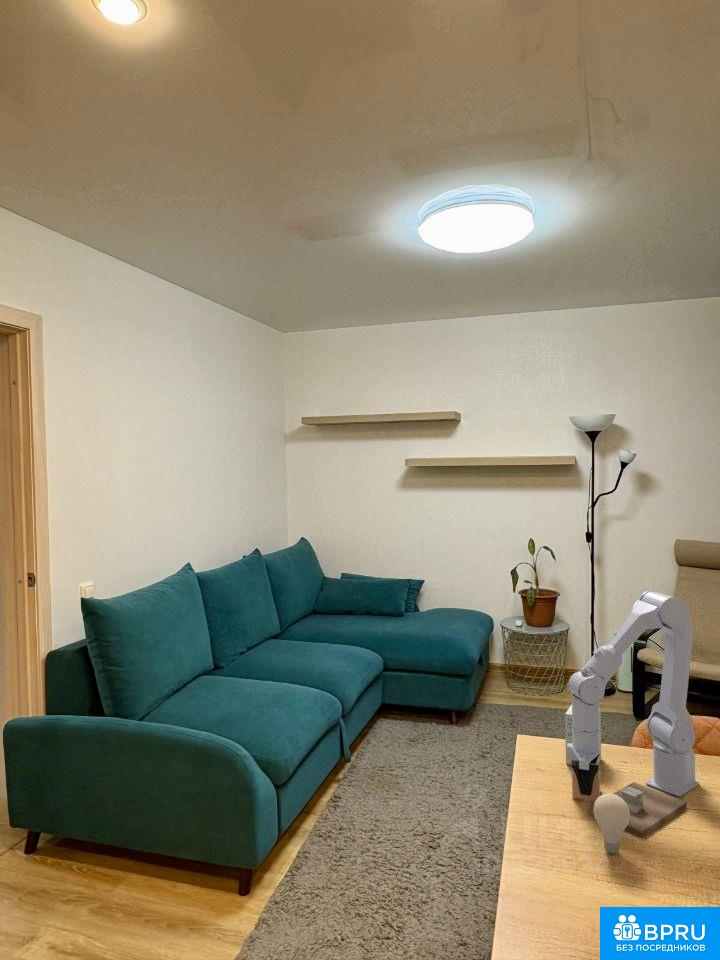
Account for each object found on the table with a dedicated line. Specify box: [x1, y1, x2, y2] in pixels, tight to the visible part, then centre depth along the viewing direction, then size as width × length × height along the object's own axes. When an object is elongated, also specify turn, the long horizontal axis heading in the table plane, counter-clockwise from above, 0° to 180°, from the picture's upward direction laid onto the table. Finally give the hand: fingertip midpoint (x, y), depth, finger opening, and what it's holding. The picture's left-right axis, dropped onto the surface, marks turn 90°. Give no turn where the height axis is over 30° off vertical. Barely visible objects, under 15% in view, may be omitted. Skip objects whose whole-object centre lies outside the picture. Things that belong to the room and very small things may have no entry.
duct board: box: [587, 781, 688, 838], centre depth 142 cm, size 18×12×5 cm, turn 128°
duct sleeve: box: [571, 763, 601, 803], centre depth 150 cm, size 6×6×6 cm
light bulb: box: [593, 792, 630, 854], centre depth 127 cm, size 7×7×11 cm
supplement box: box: [564, 704, 602, 765], centre depth 166 cm, size 7×7×13 cm
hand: (586, 788), depth 150 cm, fingers closed on duct sleeve, 6 cm apart
